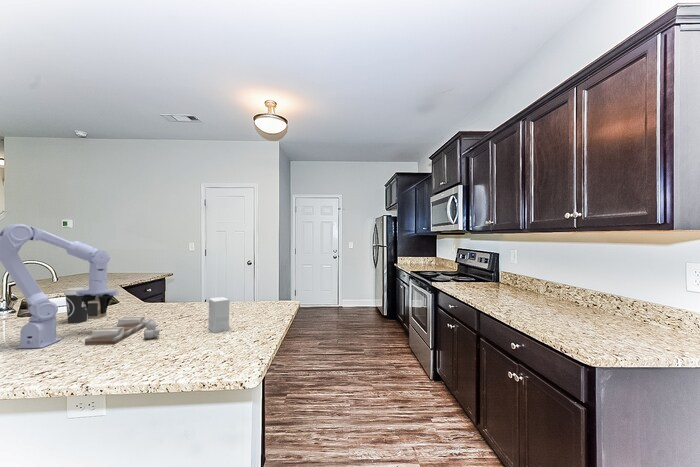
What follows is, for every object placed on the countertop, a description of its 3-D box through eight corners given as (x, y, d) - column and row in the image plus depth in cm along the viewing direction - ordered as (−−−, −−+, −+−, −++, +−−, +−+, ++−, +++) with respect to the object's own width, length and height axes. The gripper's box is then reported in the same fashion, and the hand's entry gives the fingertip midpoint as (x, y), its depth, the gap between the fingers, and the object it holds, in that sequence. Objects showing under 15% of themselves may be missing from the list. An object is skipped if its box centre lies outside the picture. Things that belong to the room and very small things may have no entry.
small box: (229, 330, 136) (229, 299, 136) (213, 333, 132) (214, 301, 132) (223, 326, 142) (223, 296, 142) (207, 328, 138) (208, 298, 138)
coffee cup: (78, 324, 141) (79, 290, 141) (57, 324, 141) (58, 290, 141) (96, 319, 150) (97, 286, 150) (76, 318, 150) (77, 286, 151)
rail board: (114, 344, 117) (115, 332, 117) (84, 344, 116) (85, 333, 116) (150, 324, 143) (150, 314, 143) (125, 324, 142) (126, 315, 142)
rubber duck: (151, 335, 128) (151, 315, 128) (164, 337, 126) (165, 316, 126) (139, 339, 122) (139, 318, 123) (153, 341, 121) (153, 320, 121)
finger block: (97, 319, 127) (97, 301, 127) (86, 319, 127) (86, 301, 127) (106, 315, 133) (106, 298, 133) (95, 315, 132) (96, 298, 132)
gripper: (123, 278, 135) (122, 310, 135) (85, 278, 133) (84, 311, 133) (112, 280, 128) (112, 314, 128) (72, 280, 126) (72, 315, 126)
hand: (97, 313), depth 130 cm, fingers closed on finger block, 4 cm apart
